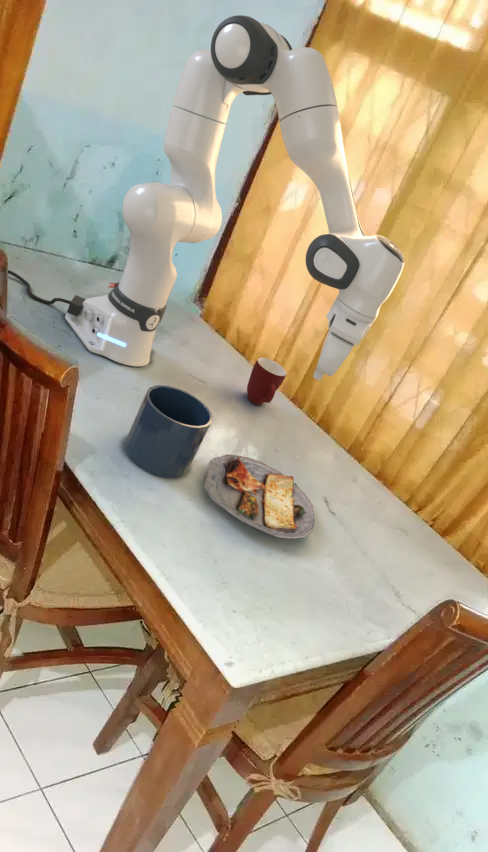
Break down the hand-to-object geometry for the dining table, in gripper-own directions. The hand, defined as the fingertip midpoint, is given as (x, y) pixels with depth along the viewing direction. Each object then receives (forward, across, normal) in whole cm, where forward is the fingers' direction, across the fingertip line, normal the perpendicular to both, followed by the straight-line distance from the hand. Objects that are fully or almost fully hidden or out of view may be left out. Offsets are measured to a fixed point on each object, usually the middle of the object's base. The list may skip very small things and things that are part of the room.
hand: (316, 376), depth 151 cm
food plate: (+21, +21, 0) cm, 30 cm away
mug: (+21, -21, -8) cm, 31 cm away
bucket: (+21, +23, -21) cm, 38 cm away
